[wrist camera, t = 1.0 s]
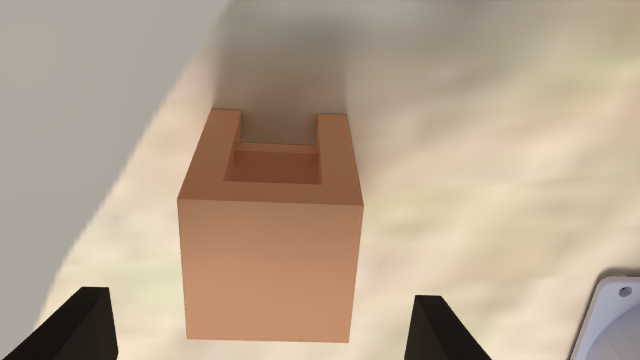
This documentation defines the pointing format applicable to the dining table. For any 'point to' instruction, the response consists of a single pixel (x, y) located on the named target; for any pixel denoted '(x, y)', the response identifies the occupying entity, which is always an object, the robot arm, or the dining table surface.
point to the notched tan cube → (270, 235)
